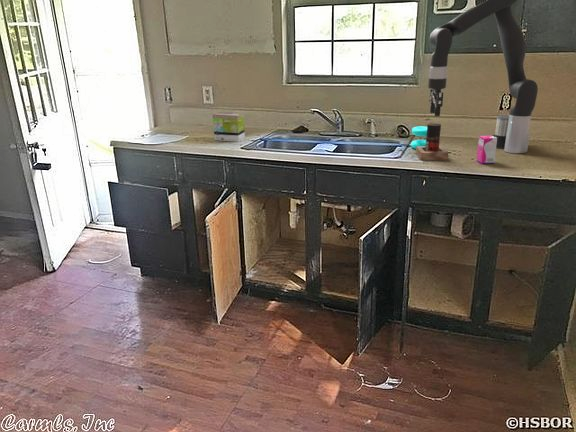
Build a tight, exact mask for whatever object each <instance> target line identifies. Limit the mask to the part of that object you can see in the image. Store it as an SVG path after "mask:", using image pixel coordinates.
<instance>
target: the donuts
mask: <svg viewBox="0 0 576 432" xmlns="http://www.w3.org/2000/svg"><path fill="white" fill-rule="evenodd" d="M411 133H412V134H413V135H414V136H417V137H426V135H427V126H414V127H413V128H412V129H411ZM421 146H426V139H416V140H415V139H414V140H413V141H411V143H410V147H411V148H412V149H414V150H416V147H421Z"/></svg>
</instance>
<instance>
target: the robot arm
mask: <svg viewBox="0 0 576 432" xmlns="http://www.w3.org/2000/svg"><path fill="white" fill-rule="evenodd" d="M516 2H518V0H485V1H483V2H481V3H479V4H477V5H475V6H472V7H471V8H468V9H467V10H465V11H463V12H462V13H460V14H459V15H457V16H456V17H454V18H453V19H451V20H450V21H448V22H445V23H444V24H442V25H440V26H438V27H436V28H434V30H433V31H432V32H431V33H430V36H429V41H430V43H431V45H433V46H435V49H434V52H433V53H431V57H430V62H429V63H430V65H429V66H430V67H429V71H428V84H427V88H428V89H429V99H428V102H429V105H430V109H429V113H430V114H434V116H435V117H440V116H441V108H442V107H443V104H444V103H443V101H444V92H443V91H442V90H444V89H446V88H447V78H448V77H447V76H448V59H449V57H448V56H449V53H450V51H451V48H452V44H453V37H455V36H459V35H461V34H463V33H465V32H466V31H468V30H469V29H471V28H472V27H474V26H475V25H477V24H479V23H480V22H481V21H483V20H485V19H486V18H488V17H490V16H491V15H494V17H495V20H496V25H497V30H498V35H499V38H500V45H501V49H502V53H503V57H504V63H505V66H506V72H507V82H508V90H509V94H510V96H512V98H514V99H515V104H514V105H513V107H511V108H510V109H509V114H508V116H509V119H508V126H507V133H506V140H505V147H504V149H503V151H504V152H506V153H509V154H524V153H528V149H529V142H530V135H531V132H530V126H531V125H530V124H531V117H532V114H533V113H532V112H533V111H534V109H535V105H536V103H537V102H536V101H537V98H538V97H537V96H538V92H539V91H538V90H539V88H538V83H537V82H536V81H534V80H532V79H528V78H526V77H527V76H526V74H525V70H524V69H525V68H524V61H525V57H526V51H527V46H526V39H525V35H524V32H523V30H522V28H521V27H520V25H519V23H518V22H517V20H516V19H515V17H514V14H513V11H512V5H514V4H515V3H516Z"/></svg>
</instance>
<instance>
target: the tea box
mask: <svg viewBox="0 0 576 432" xmlns="http://www.w3.org/2000/svg"><path fill="white" fill-rule="evenodd" d="M212 124H213V126H212V127H213V136H214V141H221V142H223V141H225V142H237V143H239V142H241V141H243V140H245V138H246V137H245V136H246V132H245V131H246V129H245V113H244V112H232V111H231V112H229V111H227V112H226V111H220V112H217V113H215V114H212Z"/></svg>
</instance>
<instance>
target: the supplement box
mask: <svg viewBox="0 0 576 432" xmlns="http://www.w3.org/2000/svg"><path fill="white" fill-rule="evenodd" d="M477 143H478V144H477V155H476V162H477V163H479V164H481V165H492V164H493V165H495V161H496V160H495V159H496V152H497V148H496V144H497V138H496V137H494V136H490V135H479V136H478V142H477Z"/></svg>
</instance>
